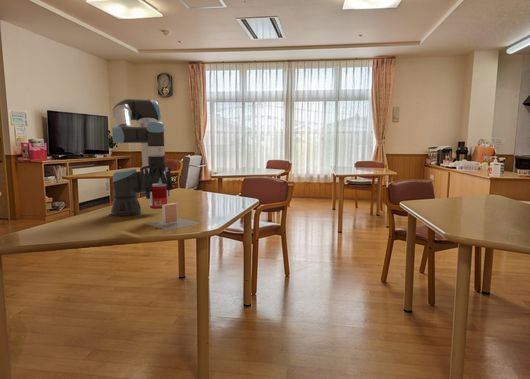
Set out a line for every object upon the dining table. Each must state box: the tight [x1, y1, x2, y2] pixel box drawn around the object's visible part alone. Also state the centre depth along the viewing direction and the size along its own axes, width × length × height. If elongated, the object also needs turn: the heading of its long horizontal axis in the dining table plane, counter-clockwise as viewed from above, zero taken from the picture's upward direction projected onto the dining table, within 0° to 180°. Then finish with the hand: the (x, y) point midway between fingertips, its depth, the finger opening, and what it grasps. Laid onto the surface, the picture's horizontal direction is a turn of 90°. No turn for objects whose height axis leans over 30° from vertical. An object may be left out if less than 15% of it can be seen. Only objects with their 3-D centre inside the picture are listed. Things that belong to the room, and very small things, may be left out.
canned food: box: [149, 183, 167, 210], centre depth 172 cm, size 8×8×11 cm
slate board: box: [146, 217, 201, 231], centre depth 168 cm, size 18×18×1 cm
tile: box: [161, 202, 178, 225], centre depth 168 cm, size 2×7×9 cm, turn 140°
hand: (158, 204), depth 173 cm, fingers closed on canned food, 8 cm apart
